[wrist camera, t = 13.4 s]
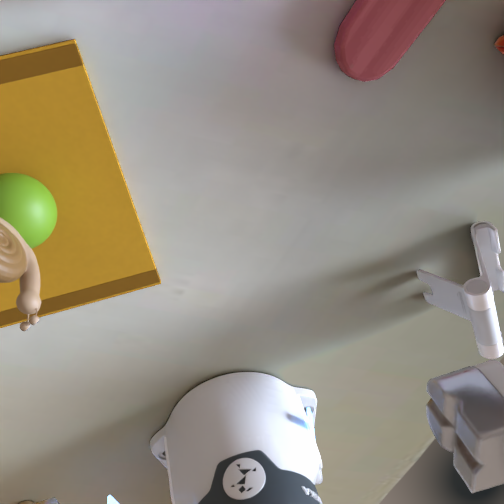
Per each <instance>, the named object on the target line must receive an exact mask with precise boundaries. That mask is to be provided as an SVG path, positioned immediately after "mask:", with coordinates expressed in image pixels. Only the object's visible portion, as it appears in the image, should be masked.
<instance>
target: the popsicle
mask: <svg viewBox="0 0 504 504" xmlns="http://www.w3.org/2000/svg"><path fill="white" fill-rule="evenodd" d="M445 1H446V0H356V1H355V3H354V4H353V6H352V8H351V9H350V11H349V12H348V14H347V15H346V17H345V18H344V20H343V22H342V23H341V25H340V27H339V30H338V33H337V37H336V40H335V43H334V49H335V58H336V61H337V63H338V65H339V67H340V69H341V71H343V72H344V73H345V74H346V75H347V76H349V77H351V78H353V79H356V80H360V81H363V82H366V81H371V80H377V79H379V78H380V77H382V76H383V75H385V74H386V73H387V72H389V71H390V70H391V69H393V68H394V67H395V65H396V64H397V63H398V61H399V60H400V59H401V58H402V56H403V55H404V54H405V52H406V51H407V50H408V49H409V47H410V46H411V45H412V44H413V42H414V41H415V40H416V38H417V37H418V36H419V35H420V33H421V32H422V31H423V29H424V28H425V27H426V26H427V24H428V23H429V22H430V21H431V19H432V18H433V17H434V15H435V14H436V13H437V11H438V10H439V9H440V7H441V6H442V5H443V3H444V2H445Z"/></svg>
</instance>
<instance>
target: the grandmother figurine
mask: <svg viewBox="0 0 504 504" xmlns="http://www.w3.org/2000/svg"><path fill="white" fill-rule="evenodd" d="M32 503H34V502H32V501H23V502H21V503H19V504H32Z"/></svg>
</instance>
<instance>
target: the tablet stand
mask: <svg viewBox="0 0 504 504" xmlns="http://www.w3.org/2000/svg"><path fill="white" fill-rule="evenodd" d="M470 229H471V238H472V242H473V243H474V248H475V252H476V257H477V262H478V266H479V271H480V275H481V276H480V277H477V278H472V279H470V280H468V281H467V282H465V284H464V285H461V284H458V283H456V282H453V281H450V280H448V279H445V278H442V277H439V276H437V275H434V274H431V273H429V272H426V271H423V270H421V269H419V270H417V276H418V279H419V280H421V281H423V282H425V283H427V284H429V285H430V287H431V290H432V293H433V294H431V293H428V292H423V295H424V298H425V300H426V301H427V302H428V303H430V304H432V305H435V306H437V307H439V308H442V309H444V310H446V311H449V312H451V313H453V314H456V315H458V316H460V317H462V318H465V319H467V320H469V321H471V322H472V326H473V330H474V334H475V338H476V342H477V346H478V350H479V353H480V355H481V356H483V357H484V358H487V359H496V358H498V357H500V356H501V355H502V354H503V351H504V348H503V344H504V343H503V338H502V333H501V332H500V329H499V324H498V319H497V314H496V309H495V304H494V299H493V295H494V293H493V291H495V290H501V291H502V292H503V293H504V270H503V269H502V268H501V267H500V263H499V257H498V254H499V253H501V249H500V244H499V238H498V232H497V228H496V227H495V226H494V225H493V224H492V223H491V222H489V221H478V222H476V223H474V224H473V225H472V226H471V228H470Z"/></svg>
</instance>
